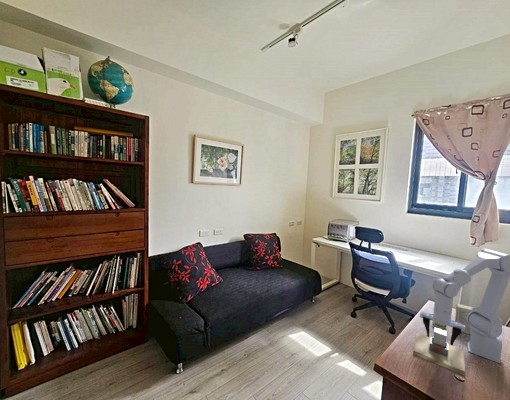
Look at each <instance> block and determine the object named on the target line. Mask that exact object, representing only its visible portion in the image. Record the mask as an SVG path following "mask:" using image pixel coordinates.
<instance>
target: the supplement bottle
mask: <svg viewBox="0 0 510 400" xmlns="http://www.w3.org/2000/svg"><path fill="white" fill-rule="evenodd" d="M432 325H434V326H435V327H436V328H438V329H446V328H447V327H448V326H447V325H441V324H439V323H438V322H435V321H432Z"/></svg>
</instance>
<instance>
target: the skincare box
mask: <svg viewBox="0 0 510 400" xmlns="http://www.w3.org/2000/svg"><path fill="white" fill-rule="evenodd" d="M455 307H456V308H455V318H454V321H455V322H458V323H460V324H463V325H465V332H463V331H461V333H463V334H464V333H465V334H468V335H471V327H470V324H469V323H468V322H467V315H468V314H469V313H470V312H471V310H472V308H474V307H473V306H469V305H465V304H460V303H456V305H455Z"/></svg>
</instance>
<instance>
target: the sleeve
mask: <svg viewBox="0 0 510 400" xmlns="http://www.w3.org/2000/svg"><path fill="white" fill-rule="evenodd" d="M430 337H431V338H430V347H429V350H430V351H433V352H435V353H438V354H440V355H443V356H445V357H448V351H449V349H448V344H449V342H447V341H446V346H445V348H443V347H440V346H438V345H435V344H433V338H434V336H430Z"/></svg>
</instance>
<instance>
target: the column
mask: <svg viewBox="0 0 510 400" xmlns="http://www.w3.org/2000/svg"><path fill="white" fill-rule="evenodd" d="M433 337H434V338H433V344H435V345H438V346H440V347H443V348H445V346H446V342H447V330H444V329H442V328H439V327H434V329H433Z"/></svg>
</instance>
